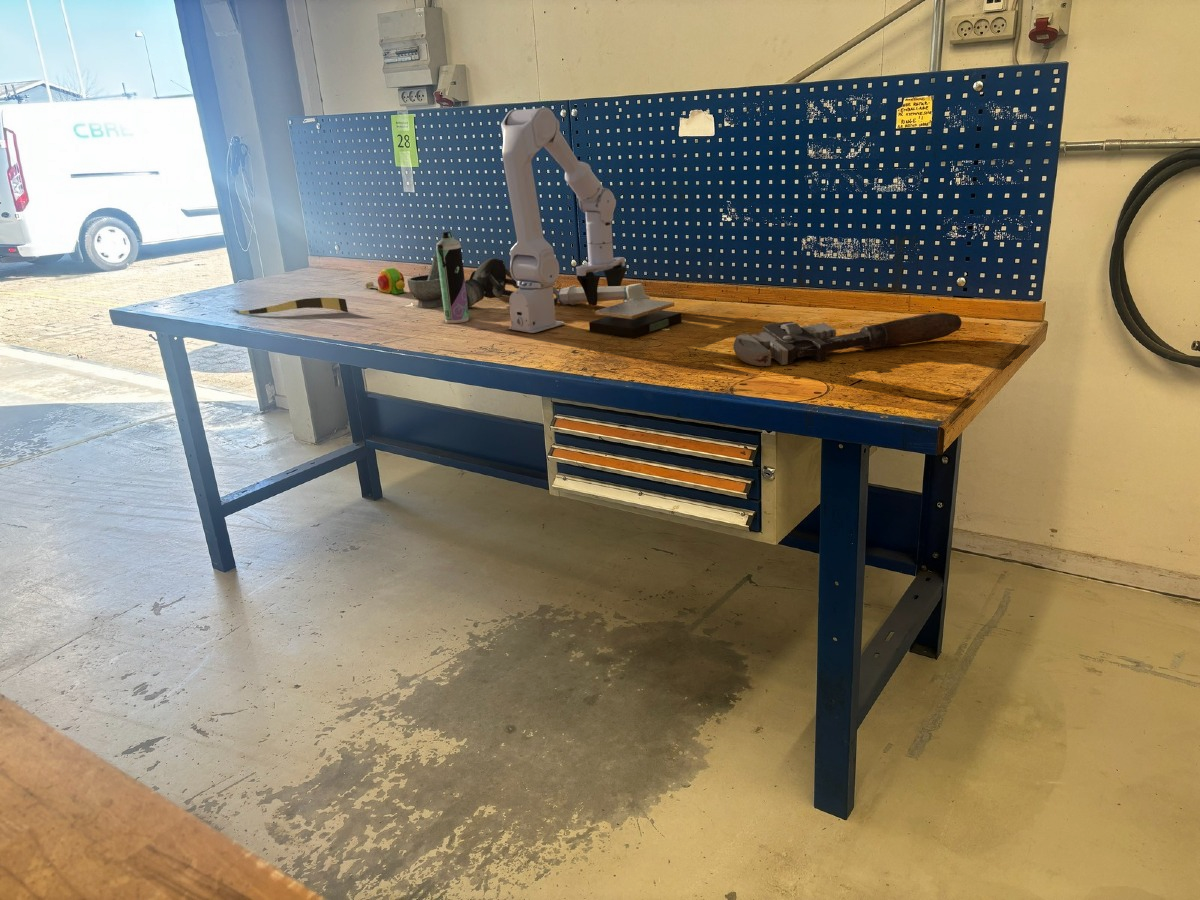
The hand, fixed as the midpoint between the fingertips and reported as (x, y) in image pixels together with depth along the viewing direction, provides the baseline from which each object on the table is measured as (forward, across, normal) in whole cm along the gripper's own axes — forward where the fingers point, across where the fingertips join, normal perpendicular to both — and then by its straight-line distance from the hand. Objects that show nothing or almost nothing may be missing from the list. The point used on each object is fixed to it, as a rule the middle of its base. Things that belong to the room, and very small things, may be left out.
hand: (603, 301), depth 199 cm
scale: (+1, -11, -19) cm, 22 cm away
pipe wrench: (+2, -5, -64) cm, 64 cm away
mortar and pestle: (+2, -17, +43) cm, 46 cm away
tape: (+2, -41, +73) cm, 84 cm away
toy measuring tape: (+2, -11, +72) cm, 73 cm away
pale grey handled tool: (+2, 0, 0) cm, 2 cm away
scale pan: (-1, -11, -19) cm, 22 cm away
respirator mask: (+2, -6, +25) cm, 26 cm away
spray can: (+2, -26, +22) cm, 34 cm away
